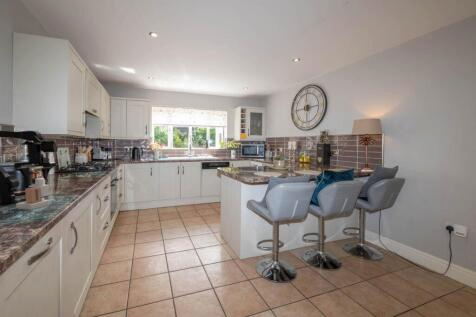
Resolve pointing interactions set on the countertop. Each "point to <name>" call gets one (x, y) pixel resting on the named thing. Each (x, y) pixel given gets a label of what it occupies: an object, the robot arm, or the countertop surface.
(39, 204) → the socket block
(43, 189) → the printed box
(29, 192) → the plug
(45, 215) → the countertop surface
